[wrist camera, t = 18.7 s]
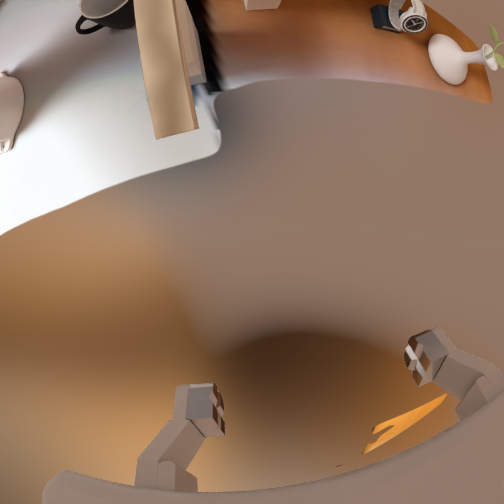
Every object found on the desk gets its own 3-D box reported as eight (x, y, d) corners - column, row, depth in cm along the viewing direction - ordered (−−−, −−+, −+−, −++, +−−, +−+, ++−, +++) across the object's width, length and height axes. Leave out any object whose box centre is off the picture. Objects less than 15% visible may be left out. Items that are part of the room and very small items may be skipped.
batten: (165, 136, 24) (155, 139, 21) (139, -30, 14) (131, -43, 10) (199, 128, 24) (194, 129, 21) (170, -39, 14) (164, -54, 10)
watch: (376, 36, 31) (411, 23, 22) (368, 1, 27) (399, -18, 18) (401, 42, 31) (437, 33, 22) (393, 7, 27) (427, -7, 18)
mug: (143, -15, 24) (125, -39, 15) (163, 15, 28) (147, -9, 19) (85, 24, 26) (56, 10, 17) (101, 55, 30) (72, 44, 21)
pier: (175, 89, 35) (145, 74, 21) (166, 41, 30) (135, 6, 16) (206, 82, 35) (194, 61, 21) (198, 33, 30) (182, -7, 16)
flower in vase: (462, 90, 35) (554, 105, 13) (426, 77, 34) (529, 82, 12) (456, 38, 29) (543, 36, 7) (419, 21, 28) (512, 2, 6)
